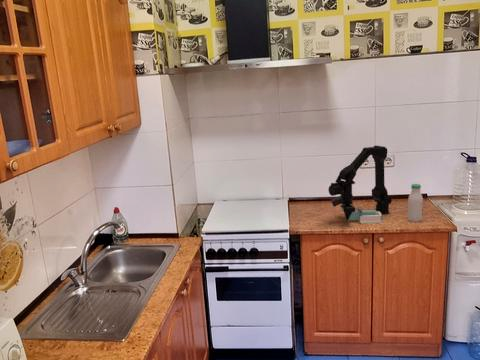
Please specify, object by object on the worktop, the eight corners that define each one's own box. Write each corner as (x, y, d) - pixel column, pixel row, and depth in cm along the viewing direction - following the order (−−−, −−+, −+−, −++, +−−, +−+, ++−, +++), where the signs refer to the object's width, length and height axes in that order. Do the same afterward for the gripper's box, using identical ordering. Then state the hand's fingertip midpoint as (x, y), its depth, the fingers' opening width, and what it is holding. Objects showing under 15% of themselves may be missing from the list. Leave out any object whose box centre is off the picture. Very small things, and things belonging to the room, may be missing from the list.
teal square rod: (374, 217, 236) (374, 210, 235) (375, 219, 234) (375, 211, 233) (345, 218, 237) (345, 211, 236) (346, 220, 235) (346, 212, 234)
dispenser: (379, 217, 239) (379, 205, 237) (382, 222, 231) (382, 210, 229) (357, 218, 240) (357, 206, 238) (360, 223, 232) (360, 211, 230)
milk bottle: (421, 222, 227) (422, 187, 222) (406, 221, 231) (407, 185, 226) (423, 218, 233) (425, 183, 228) (408, 216, 237) (409, 182, 233)
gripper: (329, 188, 242) (330, 214, 246) (334, 198, 224) (334, 225, 228) (349, 187, 241) (349, 213, 245) (355, 197, 223) (355, 224, 227)
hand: (346, 219), depth 236 cm, fingers closed on teal square rod, 2 cm apart
